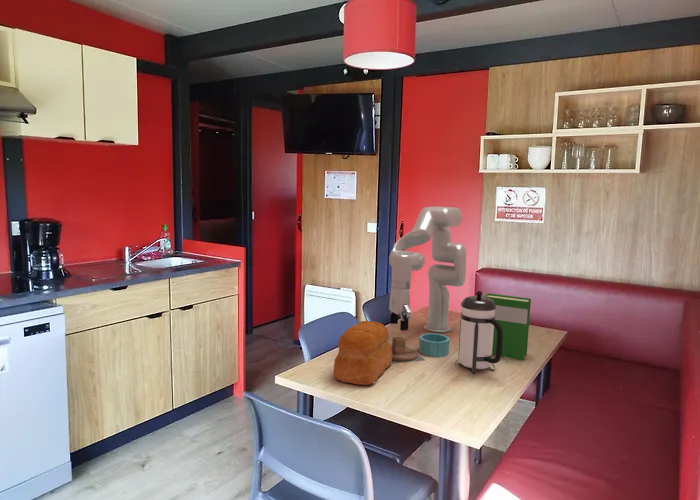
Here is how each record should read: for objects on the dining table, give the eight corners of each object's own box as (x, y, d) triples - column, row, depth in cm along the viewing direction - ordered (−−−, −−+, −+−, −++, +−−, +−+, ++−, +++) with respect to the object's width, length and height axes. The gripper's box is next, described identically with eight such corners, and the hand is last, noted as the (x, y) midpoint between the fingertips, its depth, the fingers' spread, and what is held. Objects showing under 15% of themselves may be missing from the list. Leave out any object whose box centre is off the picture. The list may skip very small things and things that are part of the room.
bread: (329, 381, 168) (329, 333, 166) (357, 356, 192) (357, 314, 189) (371, 388, 162) (372, 339, 160) (395, 362, 186) (395, 318, 183)
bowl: (414, 349, 203) (414, 334, 202) (439, 347, 207) (440, 332, 206) (427, 359, 192) (428, 343, 191) (454, 356, 195) (454, 341, 195)
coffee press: (450, 372, 179) (455, 293, 175) (458, 358, 194) (462, 285, 190) (499, 380, 172) (505, 298, 168) (503, 365, 187) (508, 289, 183)
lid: (374, 350, 199) (374, 334, 198) (407, 347, 204) (408, 331, 203) (388, 363, 185) (389, 345, 184) (423, 359, 189) (424, 342, 188)
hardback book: (526, 355, 200) (531, 298, 196) (523, 360, 193) (528, 302, 190) (483, 347, 208) (487, 293, 205) (479, 352, 201) (483, 296, 198)
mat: (372, 351, 199) (372, 350, 199) (407, 348, 204) (407, 346, 204) (387, 365, 184) (387, 363, 184) (425, 361, 189) (425, 360, 189)
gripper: (383, 281, 197) (382, 321, 199) (401, 289, 181) (399, 333, 183) (400, 280, 200) (398, 321, 201) (419, 288, 183) (417, 332, 185)
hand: (398, 327), depth 192 cm, fingers open, 9 cm apart
